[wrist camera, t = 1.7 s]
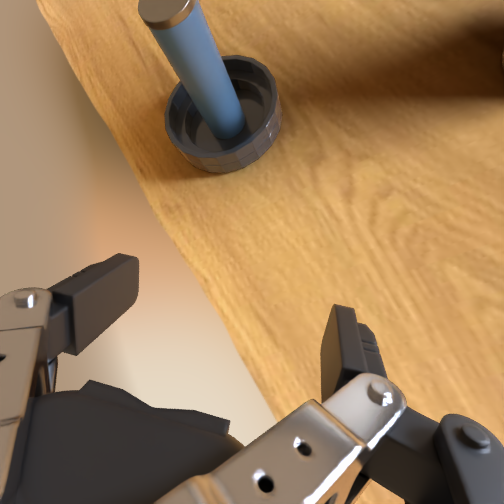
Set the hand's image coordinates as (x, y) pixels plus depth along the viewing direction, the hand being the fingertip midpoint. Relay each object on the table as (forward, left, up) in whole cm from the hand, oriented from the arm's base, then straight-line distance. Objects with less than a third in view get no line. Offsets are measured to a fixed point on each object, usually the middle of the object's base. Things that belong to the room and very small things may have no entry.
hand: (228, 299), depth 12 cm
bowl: (-19, -18, -21) cm, 34 cm away
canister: (-19, -18, -21) cm, 33 cm away
